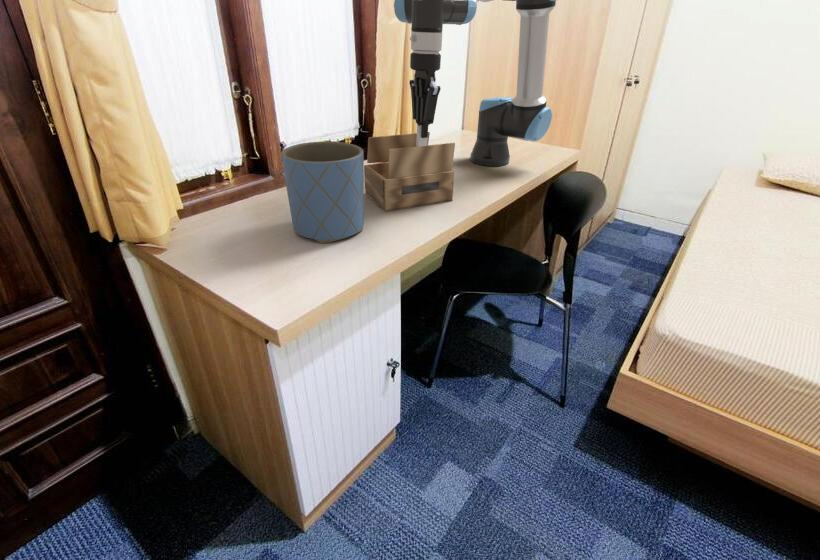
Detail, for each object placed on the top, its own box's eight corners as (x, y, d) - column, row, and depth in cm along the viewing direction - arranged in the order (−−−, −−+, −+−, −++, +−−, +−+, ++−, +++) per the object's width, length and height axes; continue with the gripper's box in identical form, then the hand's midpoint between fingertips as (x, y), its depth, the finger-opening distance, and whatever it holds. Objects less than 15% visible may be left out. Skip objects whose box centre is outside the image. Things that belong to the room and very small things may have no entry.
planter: (381, 230, 112) (380, 152, 102) (319, 252, 101) (310, 167, 91) (337, 209, 124) (332, 137, 114) (277, 227, 112) (265, 149, 102)
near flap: (454, 142, 122) (455, 143, 122) (451, 170, 126) (452, 170, 126) (389, 149, 114) (389, 149, 114) (388, 178, 119) (388, 178, 118)
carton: (428, 184, 144) (430, 157, 139) (453, 200, 132) (456, 171, 127) (363, 193, 135) (362, 165, 131) (384, 212, 123) (383, 181, 118)
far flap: (426, 156, 138) (425, 156, 139) (429, 132, 133) (429, 132, 133) (367, 163, 131) (367, 162, 131) (368, 138, 125) (368, 137, 126)
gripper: (401, 49, 110) (399, 144, 122) (424, 54, 100) (419, 156, 112) (427, 49, 113) (423, 142, 125) (452, 54, 103) (445, 154, 115)
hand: (421, 149), depth 119 cm, fingers closed
